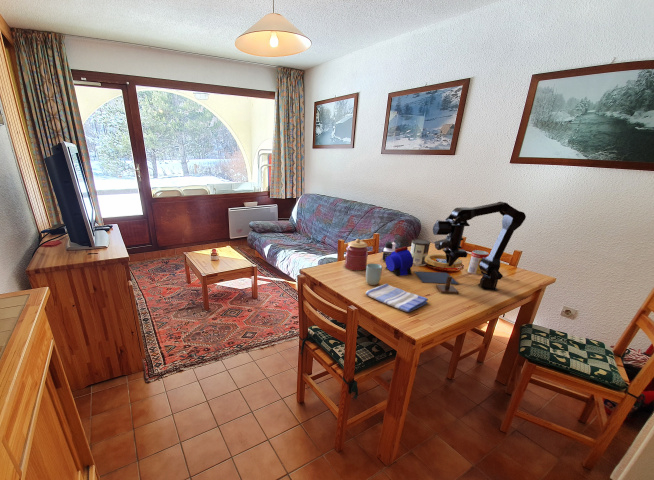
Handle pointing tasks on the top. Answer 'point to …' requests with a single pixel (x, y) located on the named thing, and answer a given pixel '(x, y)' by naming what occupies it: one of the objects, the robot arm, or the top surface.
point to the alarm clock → (400, 261)
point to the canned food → (476, 261)
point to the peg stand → (447, 287)
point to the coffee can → (419, 251)
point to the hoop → (440, 264)
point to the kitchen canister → (356, 255)
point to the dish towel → (397, 297)
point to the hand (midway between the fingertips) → (448, 265)
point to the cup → (373, 273)
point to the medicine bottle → (388, 250)
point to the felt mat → (434, 277)
